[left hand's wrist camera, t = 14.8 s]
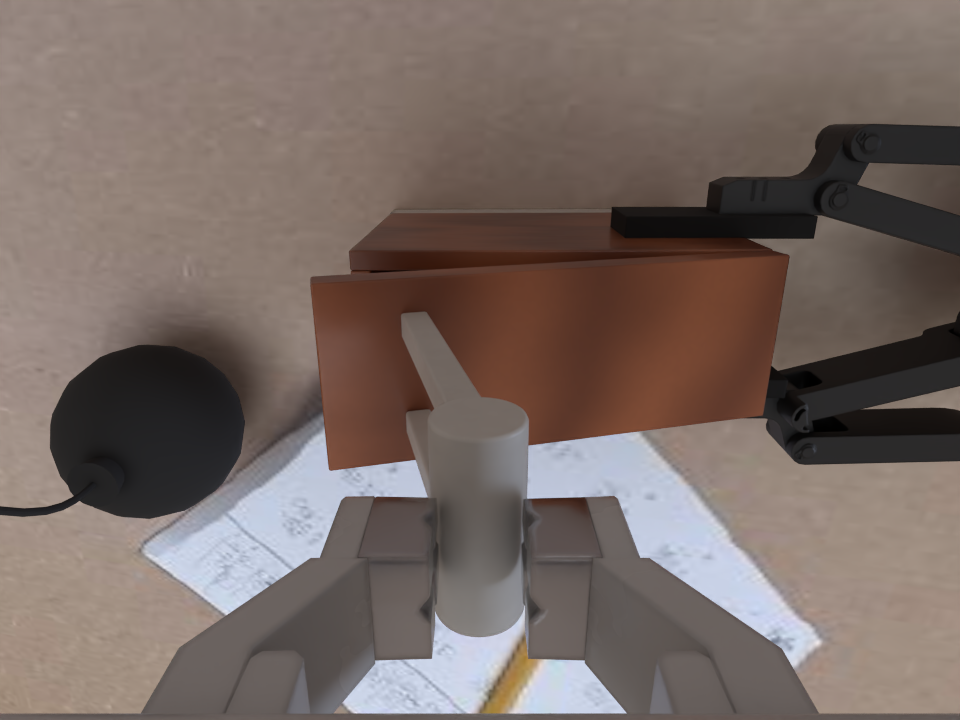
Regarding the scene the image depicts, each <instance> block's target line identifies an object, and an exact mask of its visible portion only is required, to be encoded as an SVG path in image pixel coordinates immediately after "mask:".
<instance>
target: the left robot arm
mask: <svg viewBox="0 0 960 720" xmlns="http://www.w3.org/2000/svg"><path fill="white" fill-rule="evenodd" d="M437 527H438V510H437V498H416V497H376V498H375V497H374V496H361V497H345V498H343V499H342V500H341V503H340V505H339V508H338V511H337V513H336V516H335V519H334V521H333V524H332V527H331V529H330V532H329V535H328V537H327V540H326V543H325V545H324V548H323V551H322V553H321V556H320V558H310V559H309V560H307V561H306V562H304V563H303V564H301V565H300V566H298V567H297V568H296V569H294V570H293V571H291V572H290V573H288V574H287V575H285V576H284V577H282V578H281V579H279V580H278V581H276V582H275V583H274V584H272V585H271V586H269V587H268V588H266V589H265V590H263V591H262V592H260V593H259V594H257V595H256V596H254V597H253V598H252V599H250V600H249V601H247V602H246V603H244V604H243V605H241V606H240V607H238V608H237V609H235V610H234V611H232V612H231V613H229V614H228V615H227V616H225V617H224V618H222V619H221V620H219V621H218V622H216V623H215V624H213V625H212V626H210V627H209V628H207V629H206V630H205V631H203V632H202V633H200V634H199V635H197V636H196V637H194V638H193V639H191V640H190V641H188V642H187V643H185V644H184V645H183V646H181V647H180V648H179V649H178V651H177V652H176V654H175V656H174V657H173V659H172V661H171V663H170V664H169V666H168V668H167V669H166V671H165V673H164V675H163V676H162V678H161V680H160V682H159V683H158V685H157V687H156V688H155V690H154V692H153V694H152V695H151V697H150V699H149V700H148V702H147V704H146V706H145V707H144V709H143V711H142V712H141V714H0V720H960V714H819V712H818V711H817V709H816V707H815V706H814V704H813V702H812V700H811V699H810V697H809V695H808V693H807V692H806V690H805V688H804V686H803V685H802V683H801V681H800V680H799V678H798V676H797V674H796V673H795V671H794V669H793V667H792V666H791V664H790V662H789V660H788V659H787V657H786V655H785V653H784V652H783V650H782V649H781V648H780V647H778V646H777V645H776V644H774V643H773V642H771V641H770V640H768V639H767V638H765V637H764V636H762V635H761V634H759V633H758V632H757V631H755V630H754V629H752V628H751V627H749V626H748V625H746V624H745V623H743V622H742V621H740V620H739V619H738V618H736V617H735V616H733V615H732V614H730V613H729V612H727V611H726V610H724V609H723V608H721V607H720V606H719V605H717V604H716V603H714V602H713V601H711V600H710V599H708V598H707V597H705V596H704V595H702V594H701V593H700V592H698V591H697V590H695V589H694V588H692V587H691V586H689V585H688V584H686V583H685V582H683V581H682V580H681V579H679V578H678V577H676V576H675V575H673V574H672V573H670V572H669V571H667V570H666V569H664V568H663V567H662V566H660V565H659V564H657V563H656V562H654V561H653V560H651V559H650V558H640V556H639V554H638V551H637V548H636V546H635V543H634V540H633V538H632V535H631V532H630V530H629V527H628V525H627V522H626V519H625V517H624V514H623V511H622V509H621V506H620V503H619V501H618V499H617V498H616V497H615V496H602V497H580V498H540V499H523V507H522V527H523V537H524V542H523V543H522V544H521V584H522V598H523V604H524V605H525V631H526V641H527V651H528V659H556V660H585V664H586V665H587V666H588V667H589V668H590V670H591V671H592V672H593V673H594V674H595V676H596V677H597V678H598V679H599V680H600V682H601V683H602V684H603V685H604V686H605V688H606V689H607V690H608V691H609V692H610V693H611V695H612V696H613V697H614V698H615V699H616V701H617V702H618V703H619V704H620V705H621V707H622V708H623V709H624V710H625V711H626V713H627V714H333V713H334V712H335V711H336V709H337V708H338V707H339V706H340V705H341V703H342V702H343V701H344V700H345V699H346V697H347V696H348V695H349V694H350V693H351V692H352V690H353V689H354V688H355V687H356V686H357V684H358V683H359V682H360V681H361V680H362V679H363V677H364V676H365V675H366V674H367V673H368V671H369V670H370V669H371V668H372V667H373V665H374V664H375V660H403V659H432V652H433V642H434V631H435V605H436V604H437V598H438V580H439V544H438V543H437V542H436V537H437Z"/></svg>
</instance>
